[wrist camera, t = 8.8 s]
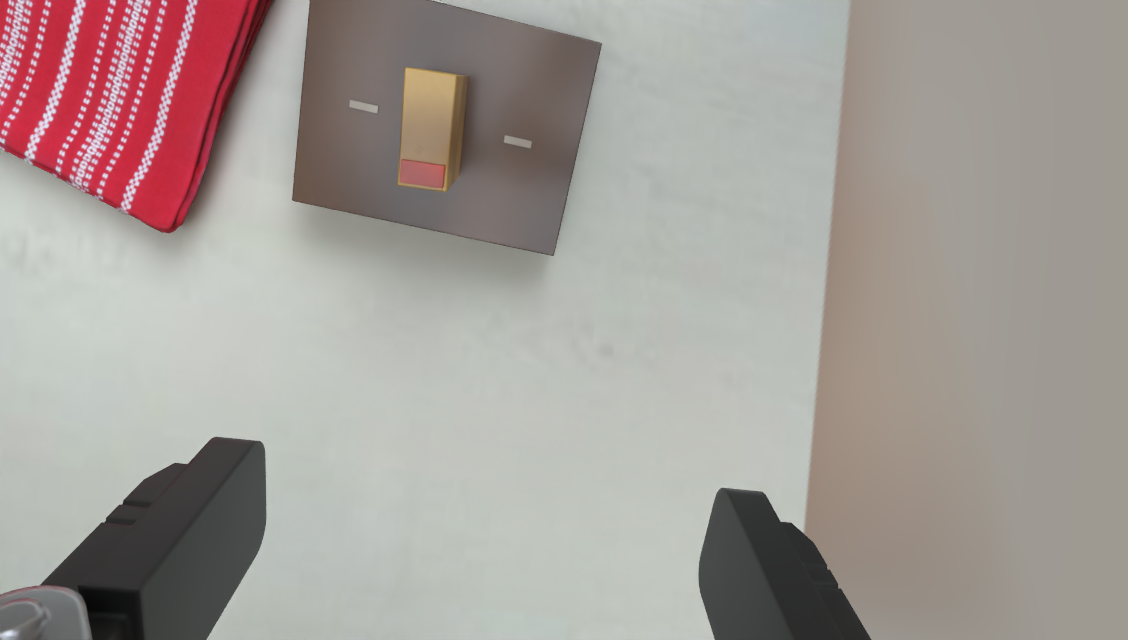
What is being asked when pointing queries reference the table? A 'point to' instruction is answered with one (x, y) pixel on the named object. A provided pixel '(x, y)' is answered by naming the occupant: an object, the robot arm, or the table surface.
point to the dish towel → (122, 93)
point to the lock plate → (491, 126)
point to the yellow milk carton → (431, 128)
